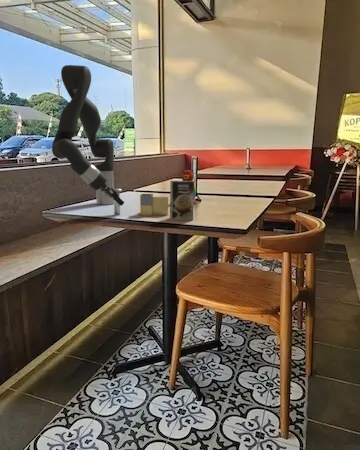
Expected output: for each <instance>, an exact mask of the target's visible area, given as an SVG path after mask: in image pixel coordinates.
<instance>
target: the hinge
mask: <svg viewBox="0 0 360 450" xmlns="http://www.w3.org/2000/svg"><path fill="white" fill-rule="evenodd" d="M139 197H140V200H139V201H140V204H139V206H140V216H145V217H147V216H148V217H149V216H150V217H151V216H153V215H154V216H168V215H169V197H168V196H154V194H153V193H141V194H140V195H139Z"/></svg>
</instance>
